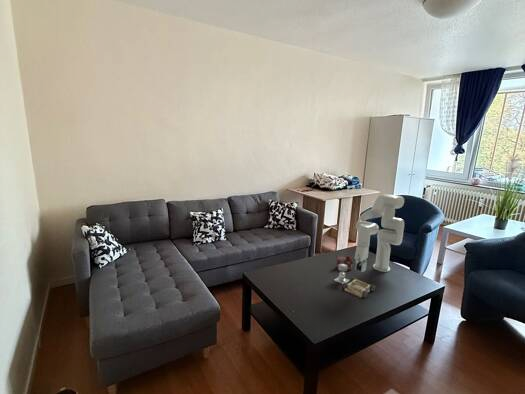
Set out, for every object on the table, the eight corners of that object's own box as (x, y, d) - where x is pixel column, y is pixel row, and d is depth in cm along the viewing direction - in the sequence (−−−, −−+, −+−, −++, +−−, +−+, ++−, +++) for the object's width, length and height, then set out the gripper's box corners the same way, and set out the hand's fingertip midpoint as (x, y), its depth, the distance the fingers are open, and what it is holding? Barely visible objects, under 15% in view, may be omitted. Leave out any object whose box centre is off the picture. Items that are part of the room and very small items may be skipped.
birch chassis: (353, 281, 198) (354, 275, 197) (375, 290, 187) (376, 284, 186) (341, 289, 187) (342, 283, 186) (364, 299, 176) (364, 293, 175)
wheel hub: (341, 266, 200) (341, 262, 200) (348, 269, 196) (349, 265, 195) (336, 269, 196) (337, 265, 196) (344, 272, 192) (344, 268, 191)
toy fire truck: (353, 271, 213) (354, 258, 211) (336, 269, 215) (337, 257, 213) (351, 267, 220) (352, 254, 218) (335, 265, 222) (336, 253, 219)
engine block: (358, 267, 187) (359, 258, 186) (365, 270, 184) (366, 261, 182) (355, 269, 184) (356, 260, 182) (362, 272, 180) (363, 263, 179)
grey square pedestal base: (339, 276, 204) (340, 269, 202) (349, 280, 198) (350, 273, 197) (333, 280, 198) (334, 272, 197) (343, 284, 193) (344, 276, 191)
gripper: (363, 238, 188) (361, 263, 192) (351, 244, 177) (348, 271, 180) (374, 241, 183) (371, 267, 187) (362, 248, 171) (359, 275, 175)
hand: (360, 268), depth 184 cm, fingers closed on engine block, 5 cm apart
